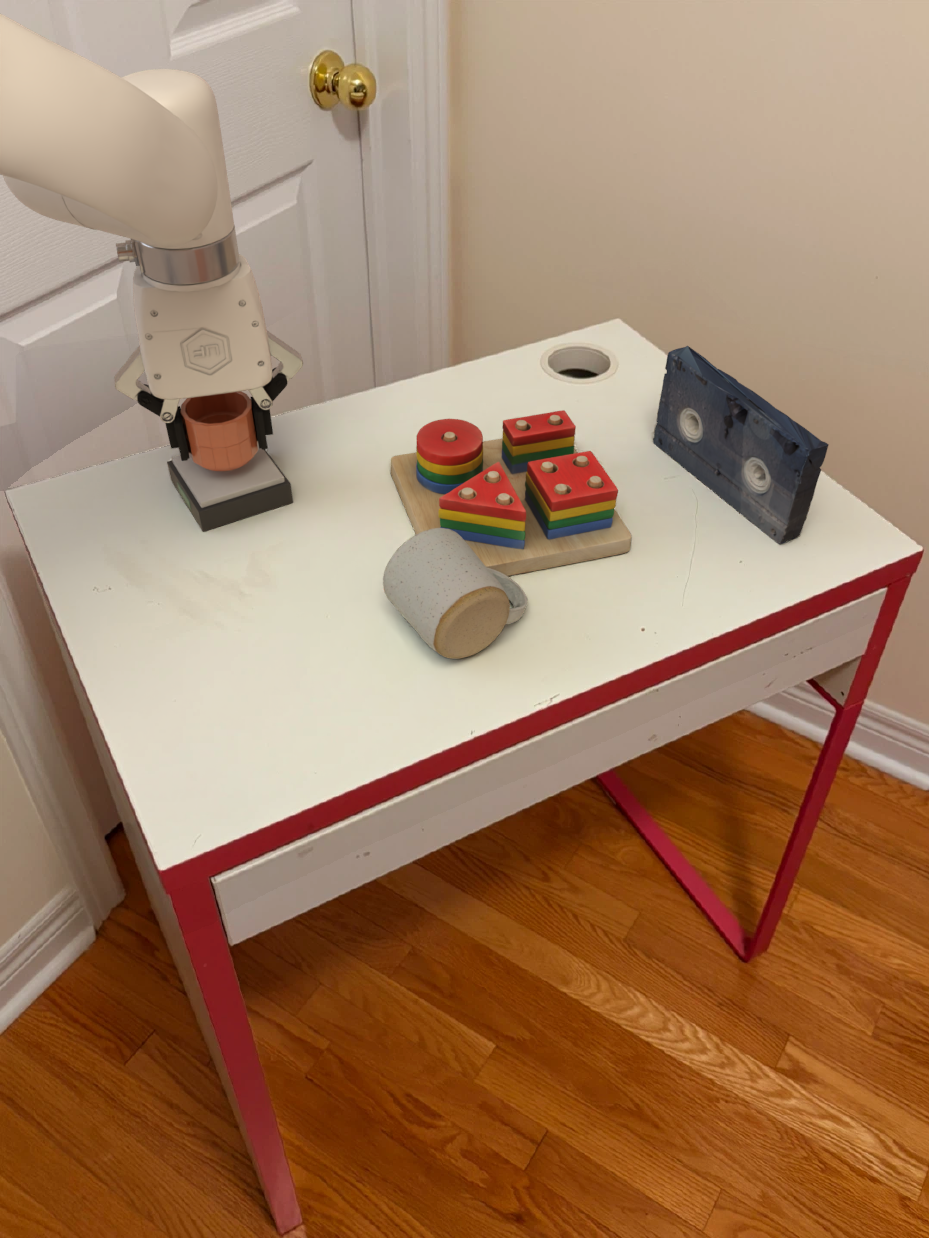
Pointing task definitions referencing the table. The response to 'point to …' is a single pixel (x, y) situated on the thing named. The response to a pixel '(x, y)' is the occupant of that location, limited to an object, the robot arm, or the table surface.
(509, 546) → the shape sorter
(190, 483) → the scale
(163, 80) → the robot arm
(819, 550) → the table surface
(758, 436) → the vhs cassette tape
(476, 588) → the ceramic mug
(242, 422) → the terracotta pot
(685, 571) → the table surface
